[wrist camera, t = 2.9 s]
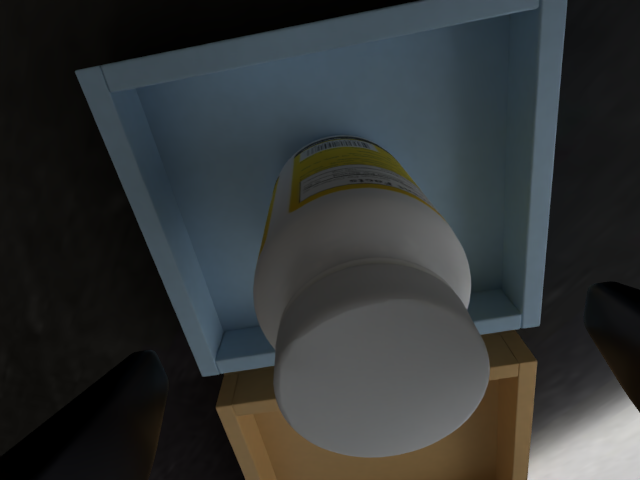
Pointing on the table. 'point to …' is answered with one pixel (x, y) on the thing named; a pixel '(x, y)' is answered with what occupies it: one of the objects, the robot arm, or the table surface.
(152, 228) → the tray
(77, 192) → the table surface
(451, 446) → the tray
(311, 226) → the supplement bottle
